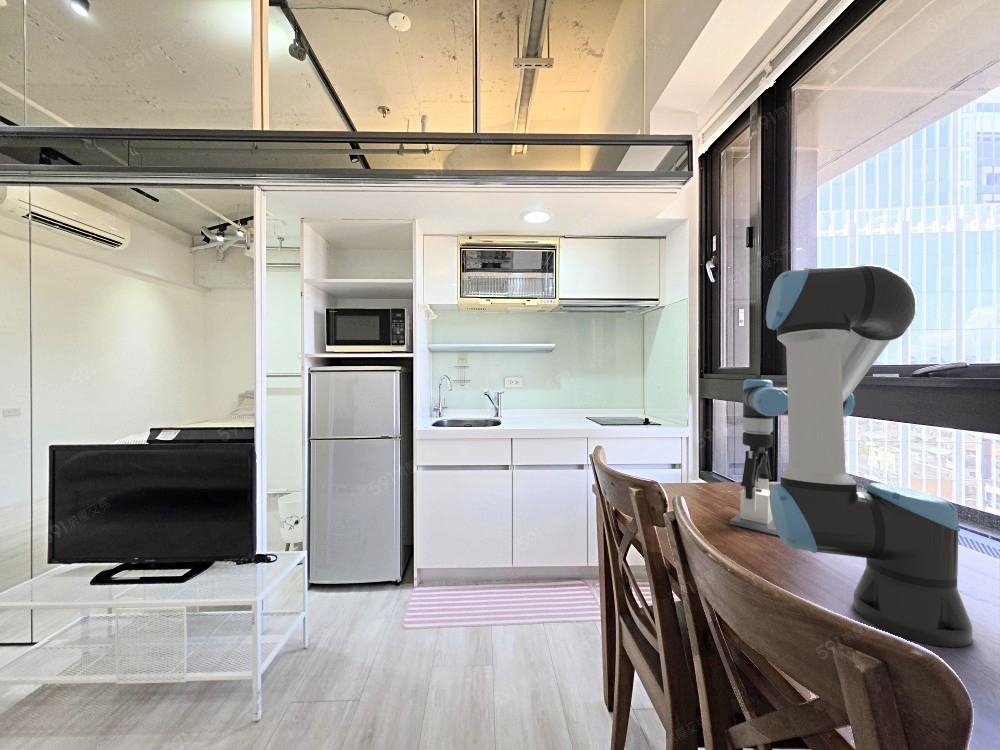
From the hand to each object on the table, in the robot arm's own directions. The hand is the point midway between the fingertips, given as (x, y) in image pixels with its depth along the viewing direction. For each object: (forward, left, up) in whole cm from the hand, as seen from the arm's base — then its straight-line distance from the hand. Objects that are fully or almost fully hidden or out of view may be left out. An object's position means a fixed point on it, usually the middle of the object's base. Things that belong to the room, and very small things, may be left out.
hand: (756, 505), depth 124 cm
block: (0, 0, -4) cm, 4 cm away
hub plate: (0, -2, -5) cm, 6 cm away
